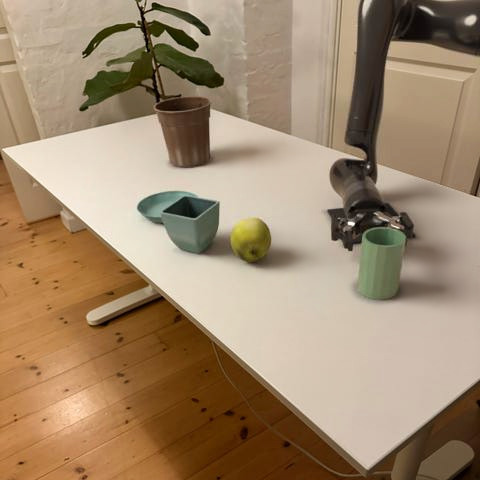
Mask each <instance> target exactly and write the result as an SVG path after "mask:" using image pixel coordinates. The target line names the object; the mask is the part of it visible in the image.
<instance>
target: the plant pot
mask: <svg viewBox="0 0 480 480" xmlns="http://www.w3.org/2000/svg"><path fill="white" fill-rule="evenodd" d="M211 105H212V99H210V98H208V97H206V96H197V95H196V96H194V95H193V96H191V95H190V96H177V97H172V98H168V99H164V100H160V101H159V102H158V103H155V104H154V105H153V110H154V111H155V113H156V117H157V121H158V123H159V124H160V128H161V131H162V135H163V140H164V143H165V146H166V150H167V151H166V152H167V154H168V159H169V162H170V164H171V165H172V166H174V167H176V168H177V167H178V168H193V167H196V165H199V166H201V165H204V164H206V163H208V162H209V161H210V159H211V137H210V135H211V134H210V133H211V132H210V118H211Z"/></svg>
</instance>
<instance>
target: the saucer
mask: <svg viewBox="0 0 480 480" xmlns="http://www.w3.org/2000/svg"><path fill="white" fill-rule="evenodd" d="M184 195H188V196H193V197H199V196H198V195H197V194H195V193H193V192H190V191H187V190H186V191H184V190H168V191H160V192H156V193H153V194H150V195H148V196H146V197H144V198H142V199H141V200H140V201H139V202H138V203H137V204H136V210H137V212H138V213H139V214H140V215H141V216H142V217H144V218H145V219H147V220H149V221H151V222H154V223H158V224H159V223H160V224H164V223H163V220H162V217H161V214H160V212H161V211H162V210H163V209H165V208H166V207H168V206H169V205H171V204H172V203H174V202H175V201H177V200H178V199H179V198H181V197H182V196H184Z"/></svg>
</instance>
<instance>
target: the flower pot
mask: <svg viewBox="0 0 480 480" xmlns="http://www.w3.org/2000/svg"><path fill="white" fill-rule="evenodd" d="M220 203H221V201H219V200H215V199H208V198H205V197H204V198H202V197H199V196H198V197H193V196H188V195H184V196H182V197H181V198H179V199H178V200H177V201H175V202H174V203H172V204H171V205H169V206H168V207H166V208H165V209H163V210H162V211H161V212H160V214H161V217H162V220H163V223H162V224H163V226H164V229H165V231H166V234H167V235H168V238H169V239H170V241H171V242H172V243H173V245H175V246H176V247H177V248H178V249H179V250H183V251H187V252H191V253H194V254H201V253H202V252H203V251H205V250H206V248H208V247H209V246H210V245H211V244H212V243H213V241H214V240H215V238H216V236H217V233H218V232H219V231H218V230H219V226H220V208H221V207H220Z"/></svg>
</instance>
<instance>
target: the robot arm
mask: <svg viewBox="0 0 480 480" xmlns="http://www.w3.org/2000/svg"><path fill="white" fill-rule="evenodd" d="M356 27H357V28H356V29H357V31H356V54H355V65H354V76H353V84H352V92H351V97H350V104H349V109H348V114H347V119H346V126H345V131H344V140H343V141H344V144H345V145H346V146H348V147H351V148H354V149H357V150H358V151H361V153H362V155H363V159H357V158H349V157H340V158H338V159H337V160H335V161H334V162H333V163H332V165H331V167H330V169H329V174H328V175H329V183H330V186H331V188H332V190H333V191H334V192H335V193H336V194H337V195H338V196H339V197H340V198H341V199H342V206H343V207H342V208H343V209H344V212H345V215H346V218H338V215H336V214H333V215H332V216H331V217H330V238H331V241H332V242H337V241H338V240H341V242H342V246H343V248H344V250H345V249H346V250H347V251H348V252H353V249H354V244H353V239H355V238H356V237H358V236H359V235H363V233H364V232H365V231H367V230H369V229H372V228H377V227H388V228H393V229H397V230H399V231H401V232H403V233H404V235H405V236H406V242H405V248H407V245H408V240H411V239H413V238H412V233H414V228H415V224H414V223H413V220H411V218H410V216H409V215H408V213H407V212H406V211H401V212H399V216H395V217H392V216H391V215H390V214H388V213H387V209H386V206H385V204H384V199H383V197H382V193H380V191H379V189H378V188H377V186H376V185H377V182H378V177H379V173H378V172H379V171H378V159H377V146H378V145H377V143H378V136H379V132H380V127H381V123H382V121H381V120H382V117H383V111H384V104H385V103H384V101H385V76H386V75H385V74H386V65H387V58H388V54H389V51H390V50H389V49H390V45H391V42H394V43H395V42H396V43H397V42H399V43H415V44H425V45H429V46H434V47H438V48H441V49H443V50H446V51H450V52H454V53H458V54H462V55H466V56H470V57H475V58H479V59H480V0H359V4H358V9H357V25H356ZM343 225H345V227H344V228H343V229H340V227H342V226H343Z"/></svg>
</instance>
